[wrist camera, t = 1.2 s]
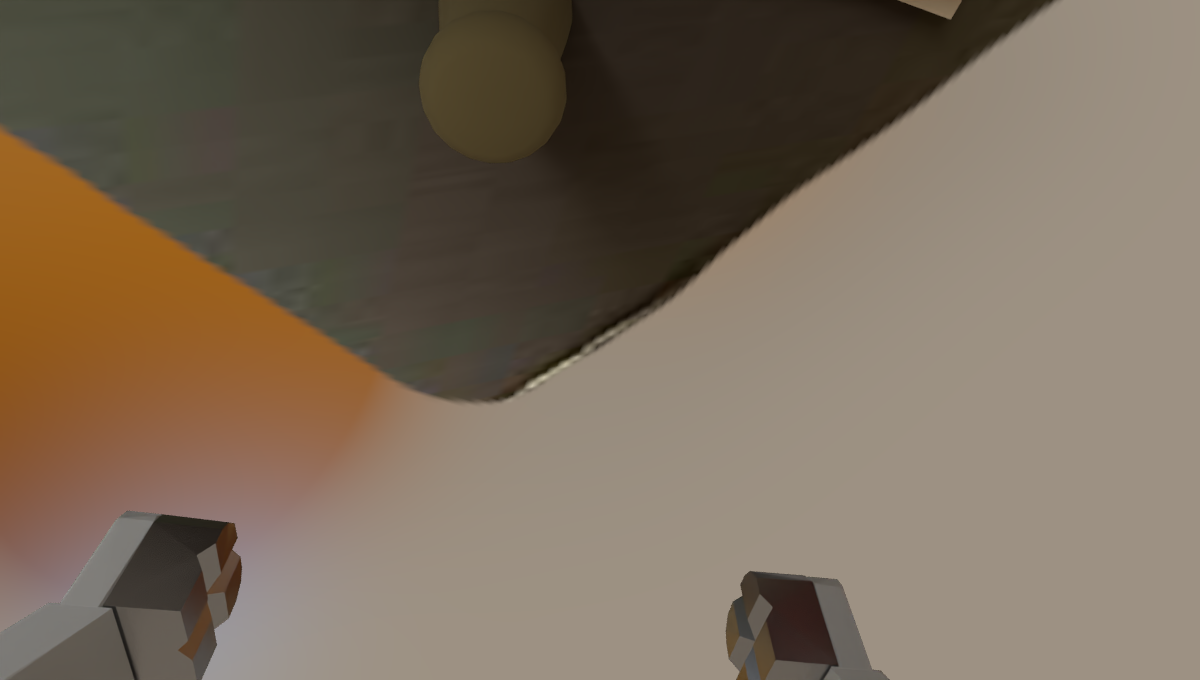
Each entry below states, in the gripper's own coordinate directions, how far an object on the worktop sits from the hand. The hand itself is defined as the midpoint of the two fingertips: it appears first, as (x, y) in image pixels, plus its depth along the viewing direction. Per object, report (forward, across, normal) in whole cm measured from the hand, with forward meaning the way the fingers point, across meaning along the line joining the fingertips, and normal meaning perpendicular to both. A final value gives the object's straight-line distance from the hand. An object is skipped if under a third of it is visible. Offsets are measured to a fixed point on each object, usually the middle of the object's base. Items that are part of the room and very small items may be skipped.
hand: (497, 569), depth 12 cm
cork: (+29, +2, -3) cm, 29 cm away
